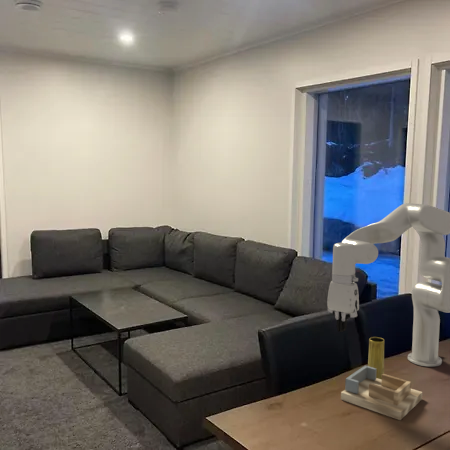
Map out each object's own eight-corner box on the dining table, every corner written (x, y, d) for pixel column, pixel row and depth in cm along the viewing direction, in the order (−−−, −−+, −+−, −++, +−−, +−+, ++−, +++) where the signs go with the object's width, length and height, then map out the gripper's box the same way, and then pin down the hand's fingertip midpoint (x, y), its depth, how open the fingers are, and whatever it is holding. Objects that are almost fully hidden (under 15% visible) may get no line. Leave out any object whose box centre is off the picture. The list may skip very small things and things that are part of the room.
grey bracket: (364, 376, 172) (365, 365, 171) (376, 379, 169) (376, 368, 168) (345, 390, 161) (345, 378, 160) (356, 393, 158) (357, 382, 158)
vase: (386, 380, 174) (387, 342, 173) (369, 380, 174) (370, 342, 173) (381, 373, 180) (382, 336, 179) (364, 373, 180) (366, 336, 179)
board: (365, 381, 174) (366, 364, 173) (422, 399, 160) (422, 380, 160) (340, 399, 160) (341, 380, 160) (400, 420, 147) (401, 400, 146)
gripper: (368, 280, 163) (366, 333, 166) (329, 274, 173) (327, 323, 175) (358, 284, 158) (356, 338, 160) (318, 277, 168) (317, 328, 170)
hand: (341, 330), depth 168 cm, fingers closed
